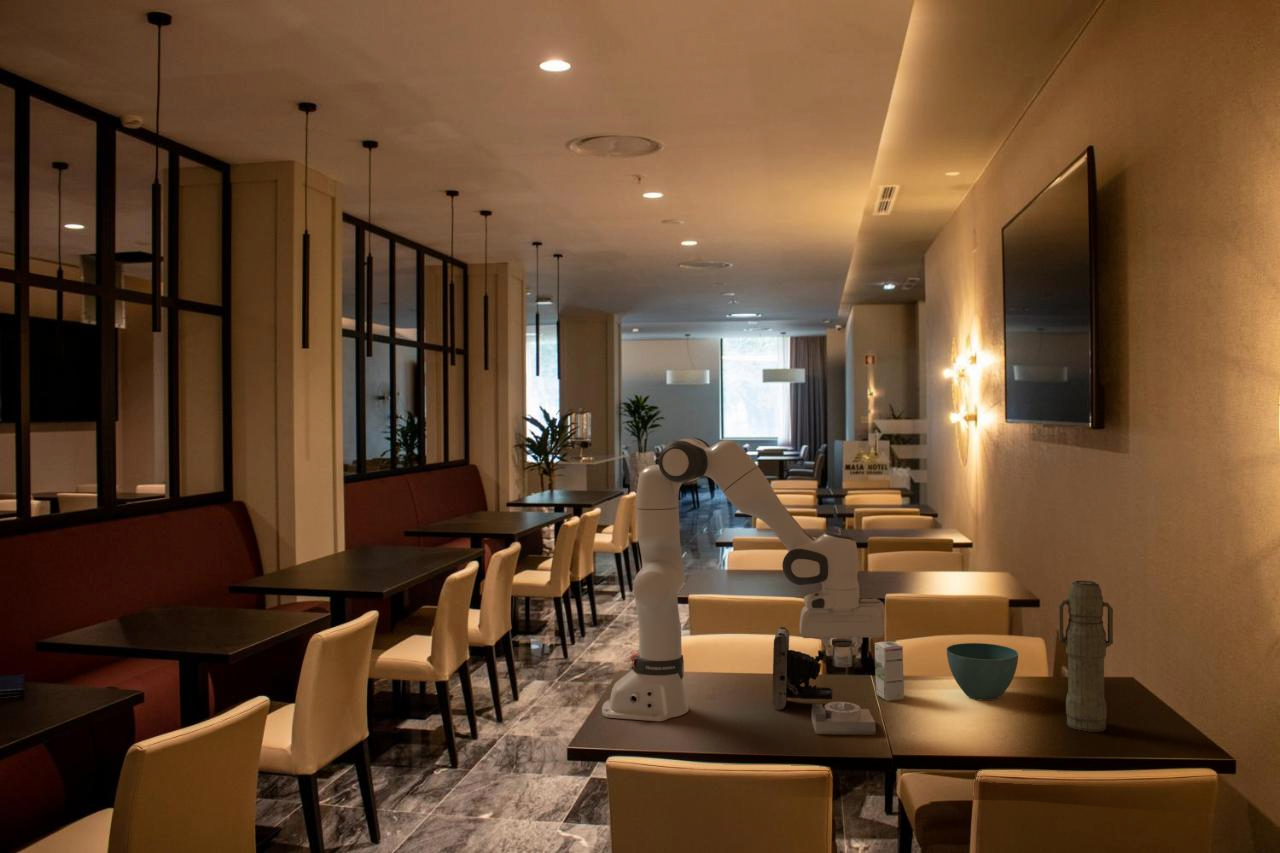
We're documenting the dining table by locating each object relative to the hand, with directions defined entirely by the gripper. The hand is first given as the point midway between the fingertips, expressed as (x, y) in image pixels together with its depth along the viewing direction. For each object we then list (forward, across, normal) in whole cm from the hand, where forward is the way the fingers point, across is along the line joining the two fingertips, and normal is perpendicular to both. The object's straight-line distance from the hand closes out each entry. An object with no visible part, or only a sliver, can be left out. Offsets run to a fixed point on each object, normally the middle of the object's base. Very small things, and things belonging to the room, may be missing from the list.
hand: (842, 655), depth 230 cm
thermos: (+19, -59, -3) cm, 62 cm away
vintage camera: (+18, +8, -17) cm, 26 cm away
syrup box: (+18, -16, -25) cm, 35 cm away
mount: (+18, 0, 0) cm, 18 cm away
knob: (+2, 0, 0) cm, 2 cm away
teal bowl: (+18, -41, -27) cm, 52 cm away
